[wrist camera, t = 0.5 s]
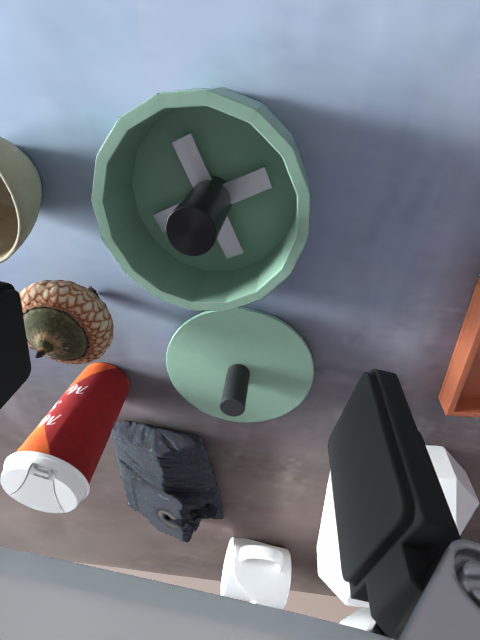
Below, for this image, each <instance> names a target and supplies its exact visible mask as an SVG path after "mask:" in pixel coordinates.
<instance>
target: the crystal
mask: <svg viewBox="0 0 480 640" xmlns="http://www.w3.org/2000/svg"><path fill="white" fill-rule="evenodd" d="M426 448H427V451H428V453H429V456H430V458H431V461H432V464H433V466H434V469H435V472H436V474H437V477H438V479H439V482H440V485H441V487H442V490H443V493H444V495H445V498H446V500H447V503H448V506H449V508H450V511H451V514H452V516H453V519H454V521H455V524H456V527H457V529H458V532H459V535H461V533H462V532H463V530H464V528H465V527H466V525H467V523H468V522H469V520H470V518H471V517H472V515H473V513H474V512H475V510H476V508H477V507H478V505H479V501H478V498H477V496H476V494H475V492H474V489H473V487H472V485H471V483H470V480H469V478H468V476H467V474H466V472H465V470H464V469H463V468H462V467H461V466H460V465H459V464H458V462H457V461H456V460H455V459H454V458H453V457H452V456H451V455H450V453H449V452H448V451H447V450H446V449H445V448H444V447H443V446H430V445H426ZM317 561H318V575H319V576H320V578H321V579H322V580H323V581H324V582H325V583H326V584H327V585H328V586H329V587H330V588H331V589H332V591H333V592H334V593H335V594H336V595H337V596H338V597H339V598H340V599H341V600H342V601H343V602H344V603H345V605H349V606H358V607H366V608H370V607H369V602H365V601H360V600H356V599H351V595H350V587H349V583H348V582H345V581H344V580H343V577H342V572H341V564H340V555H339V545H338V536H337V527H336V518H335V508H334V499H333V490H332V481H331V471H330V475H329V481H328V486H327V492H326V498H325V504H324V509H323V515H322V521H321V526H320V532H319V538H318V543H317Z"/></svg>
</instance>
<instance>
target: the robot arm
mask: <svg viewBox="0 0 480 640" xmlns="http://www.w3.org/2000/svg"><path fill="white" fill-rule="evenodd" d="M30 372H31V362H30V356H29V350H28V343H27V337H26V331H25V324H24V318H23V311H22V305H21V299H20V294H19V293H18V292H17V291H15V289H14V287H13V285H11V284H9V283H5V282H1V281H0V409H1V408H2V407H3V405H4V404H5V403H6V402H7V401H8V400H9V399H10V398H11V397H12V395H13V394H14V393H15V392H16V391H17V390H18V389H19V388H20V387H21V385H22V384H23V383H24V382H25V381H26V380H27V378H28V377H29V375H30ZM328 453H329V462H330V471H331V481H332V490H333V499H334V508H335V518H336V527H337V536H338V545H339V555H340V564H341V572H342V577H343V580H344V581H345V582H348V583H349V587H350V595H351V599H356V600H360V601H365V602H369V607H370V613H371V617H372V618H373V621H372V622H371V624H370V626H369V627H368V629H367V631H365V630H362V629H358V628H354V627H350V626H346V625H342V624H338V623H334V622H330V621H326V620H322V619H318V618H314V617H310V616H306V615H302V614H298V613H294V612H290V611H286V610H282V609H278V608H273V607H269V606H264V605H260V604H256V603H251V602H246V601H242V600H238V599H233V598H229V597H225V596H220V595H216V594H212V593H207V592H203V591H198V590H194V589H190V588H185V587H181V586H177V585H172V584H168V583H163V582H159V581H155V580H149V579H146V578H141V577H137V576H132V575H127V574H123V573H119V572H114V571H109V570H105V569H100V568H96V567H92V566H87V565H83V564H78V563H74V562H69V561H65V560H60V559H56V558H51V557H47V556H42V555H38V554H33V553H29V552H24V551H20V550H15V549H11V548H6V547H2V546H0V640H480V544H479V543H477V542H474V541H472V540H465V539H461V537H460V535H459V532H458V529H457V527H456V524H455V521H454V519H453V516H452V514H451V511H450V508H449V506H448V503H447V500H446V498H445V495H444V493H443V490H442V487H441V485H440V482H439V479H438V477H437V474H436V472H435V469H434V466H433V464H432V461H431V458H430V456H429V453H428V451H427V448H426V445H425V443H424V440H423V437H422V436H421V434H420V432H419V431H418V430H417V427H416V425H415V422H414V419H413V417H412V414H411V411H410V409H409V406H408V403H407V401H406V398H405V395H404V393H403V390H402V387H401V385H400V382H399V379H398V377H397V375H396V374H395V373H391V372H387V371H383V370H378V369H372V370H371V371H370V372H369V373H367V372H364V373H363V374H362V376H361V378H360V380H359V381H358V383H357V385H356V387H355V389H354V391H353V393H352V395H351V397H350V399H349V401H348V402H347V404H346V406H345V408H344V410H343V412H342V414H341V416H340V418H339V420H338V422H337V424H336V425H335V427H334V429H333V431H332V433H331V435H330V438H329V442H328Z"/></svg>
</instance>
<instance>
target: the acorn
mask: <svg viewBox="0 0 480 640" xmlns="http://www.w3.org/2000/svg"><path fill="white" fill-rule="evenodd" d="M19 294H20V299H21V305H22V311H23V318H24V324H25V331H26V337H27V343H28V345H29V346H30V348H32V349H34V350H36V351H37V352H36V355H35V357H36V358H40V357H43V355H45V356H46V357H48V358H51V359H55V360H56V361H57V362H62V363H67V364H70V363H71V364H84V363H88V362H91V361H94V360H96V359H98V358H100V357H101V356H102V355H103V354H104V352H105V351H106V350H107V348H109V346H110V344H111V341H112V339H113V320H112V318H111V315H110V313H109V311H108V309H107V306H106V304H105V303H104V302H103V301H102V300H101V299H100V298H99V296H98V294H97V292H96V290H94V289H93V288H92V287H91V286H89V289H87V288H85V287H82V286H80V285H78V284H76V283H74V282H72V281H63V280H57V281H50V280H44V281H41V282H36V283H33V284H31V285H29V286H28V287H26V288H24V289H23V290H22V291H21V292H20V293H19Z"/></svg>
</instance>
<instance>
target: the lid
mask: <svg viewBox="0 0 480 640" xmlns="http://www.w3.org/2000/svg"><path fill="white" fill-rule="evenodd" d="M166 364H167V371H168V374H169V377H170V379H171V381H172V383H173V385H174V387H175V388H176V390H177V391H178V392H179V393H180V394H181V396H182V397H183V398H185V399H186V400H187V401H188V402H189V403H190V404H192V405H193V406H194V407H196V408H198V409H199V410H201V411H203V412H205V413H207V414H209V415H212V416H214V417H217V418H220V419H224V420H229V421H234V422H261V421H266V420H270V419H274V418H277V417H279V416H282V415H284V414H286V413H288V412H290V411H291V410H293V409H294V408H295V407H297V406H298V405H299V404H300V403H301V402H302V401H303V400H304V398H305V397H306V396H307V394H308V392H309V390H310V389H311V386H312V383H313V378H314V364H313V358H312V355H311V352H310V350H309V348H308V346H307V344H306V342H305V341H304V340H303V338H302V337H301V336H300V335H299V334H298V333H297V332H296V331H295V330H294V329H293V328H292V327H291V326H289V325H288V324H287V323H285V322H284V321H282V320H280V319H279V318H277V317H275V316H273V315H270V314H268V313H265V312H262V311H259V310H255V309H249V308H242V307H238V308H235V309H233V310H230V311H205V312H203V313H200V314H198V315H196V316H194V317H192V318H191V319H189V320H188V321H186V322H185V323H184V324H183V325H182V326H181V327H180V328H179V329H178V330H177V331H176V332H175V334H174V336H173V337H172V339H171V341H170V344H169V346H168V350H167V355H166Z"/></svg>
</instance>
